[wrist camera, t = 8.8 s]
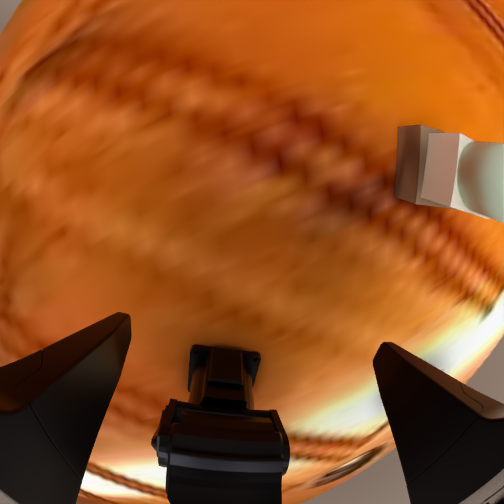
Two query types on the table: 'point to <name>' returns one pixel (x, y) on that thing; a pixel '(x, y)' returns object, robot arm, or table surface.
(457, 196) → the tower top block
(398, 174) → the tower base block
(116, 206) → the table surface
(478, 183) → the grey domed cylinder
